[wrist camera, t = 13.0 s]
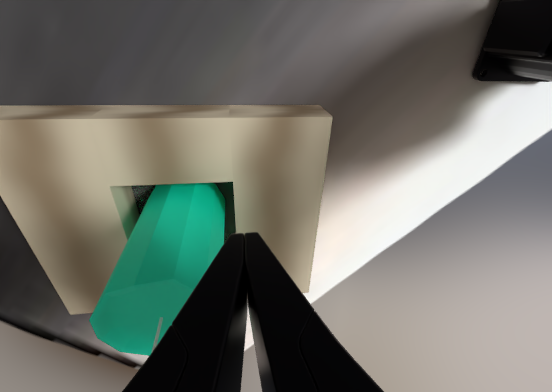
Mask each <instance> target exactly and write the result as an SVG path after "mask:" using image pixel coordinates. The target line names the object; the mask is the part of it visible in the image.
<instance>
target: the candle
mask: <svg viewBox="0 0 552 392" xmlns="http://www.w3.org/2000/svg"><path fill="white" fill-rule="evenodd" d="M224 227H225V198H224V196H223V195H222V193H221V192H220V190H219V189H218V187H217V185H216V184H214V183H187V184H160V185H156V186H155V188H154V190H153V191H152V193H151V195H150V196H149V198H148V200H147V202H146V204H145V206H144V208H143V211H142V213H141V215H140V217H139V219H138V221H137V223H136V225H135V227H134V229H133V231H132V233H131V235H130V237H129V239H128V241H127V243H126V245H125V248H124V250H123V252H122V254H121V256H120V258H119V260H118V262H117V264H116V266H115V268H114V270H113V272H112V274H111V276H110V278H109V280H108V282H107V285H106V287H105V289H104V291H103V293H102V295H101V297H100V299H99V301H98V303H97V305H96V307H95V309H94V311H93V313H92V315H91V317H90V319H89V321H90V323H91V325H92V327H93V329H94V332H95V334H96V336H97V338H98V339H100V340H101V341H103V342H105V343H106V344H108V345H110V346H111V347H113V348H115V349H116V350H118V351H120V352H125V353H133V354H141V355H149V356H150V354H151V353H152V352H153V350H154V349H155V347H156V346H157V344H158V343H159V342H160V340H161V339H162V337H163V336H164V334H165V332H166V331H167V329H168V328H169V326H171V325H172V322H173V321H174V319H175V317H176V316H177V314H178V313H179V311H180V310H181V308H182V307H183V305H184V304H185V302H186V301H187V299H188V298H189V296H190V295H191V293H192V292H193V290H194V289H195V287H196V285H197V284H198V282H199V281H200V279H201V278H202V276H203V275H204V273H205V272H206V270H207V269H208V267H209V266H210V264H211V263H212V261H213V260H214V258H215V257H216V255H217V253H218V252H219V250H220V249H221V247H222V246H223V244H224Z"/></svg>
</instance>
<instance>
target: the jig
mask: <svg viewBox="0 0 552 392" xmlns="http://www.w3.org/2000/svg"><path fill="white" fill-rule="evenodd" d="M332 119H333V117H332V116H331V115H330V114H329V113H328V112H327V111H326V110H325V109H324V108H322V107H321V106H320V105H54V106H0V196H1V198H2V199H3V201H4V203H5V204H6V206H7V208H8V210H9V211H10V213H11V215H12V216H13V218H14V220H15V221H16V223H17V225H18V227H19V228H20V230H21V232H22V233H23V235H24V237H25V238H26V240H27V242H28V243H29V245H30V247H31V249H32V250H33V252H34V254H35V255H36V257H37V259H38V260H39V262H40V264H41V266H42V267H43V269H44V271H45V272H46V274H47V276H48V277H49V279H50V281H51V283H52V284H53V286H54V288H55V289H56V291H57V293H58V294H59V296H60V298H61V300H62V301H63V303H64V305H65V306H66V308H67V310H68V311H69V313H70V315H73V314H83V313H93V311H94V309H95V307H96V305H97V303H98V301H99V299H100V297H101V295H102V293H103V291H104V289H105V287H106V285H107V282H108V280H109V278H110V276H111V274H112V272H113V270H114V268H115V266H116V264H117V262H118V260H119V258H120V256H121V254H122V252H123V250H124V248H125V245H126V243H127V241H128V239H129V237H130V235H131V233H132V231H133V229H134V227H135V225H136V223H137V221H138V219H139V217H140V215H139V211H138V208H137V204H136V201H135V197H134V194H133V190H132V187H131V186H134V185H160V184H187V183H213V182H233V189H234V205H235V222H236V233H243V234H244V235H245V233H247V232H258V233H259V234H260V235H261V237H262V238H263V240H264V241H265V242H266V244H267V245H268V246H269V248H270V249H271V251H272V252H273V253H274V255H275V256H276V258H277V259H278V260H279V262H280V263H281V264H282V266H283V267H284V269H285V270H286V271H287V273H288V274H289V275H290V277H291V278H292V280H293V281H294V282H295V284H296V285H297V286H298V288H299V289H300V291H301V292H302V293H308V292H309V285H310V278H311V271H312V264H313V256H314V249H315V242H316V235H317V227H318V220H319V213H320V206H321V199H322V191H323V184H324V177H325V170H326V163H327V155H328V148H329V141H330V134H331V126H332ZM224 243H225V241H224ZM247 297H248V296H247Z"/></svg>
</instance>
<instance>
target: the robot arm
mask: <svg viewBox="0 0 552 392" xmlns="http://www.w3.org/2000/svg"><path fill="white" fill-rule="evenodd" d="M482 70H483V73H482V74H481V75H480V73H481V71H482ZM472 77H473V79H475V80H479V81H537V82H549V81H552V0H500V1H499V4H498V7H497V9H496V12H495V15H494V17H493V20H492V23H491V25H490V28H489V31H488V33H487V36H486V39H485V41H484V44H483V47H482V49H481V52H480V55H479V57H478V60H477V63H476V65H475V68H474V71H473V74H472ZM247 296H248V297H247ZM247 307H249V315H250V321H251V327H252V333H253V339H254V345H255V350H256V356H257V363H258V368H259V375H260V380H261V387H262V392H384V391H383V390H382V389H381V388H380V387H379V386H378V385H377V384H376V383H375V382H374V380H373V379H372V378H371V377H370V376H369V375H368V374H367V373H366V372H365V371H364V369H363V368H362V367H361V366H360V365H359V364H358V363H357V362H356V361H355V360H354V359H353V357H352V356H351V355H350V354H349V353H348V352H347V350H345V348H344V347H343V346H342V345H341V344H340V343H339V341H338V340H337V339H336V338H335V336H334V335H333V334H332V333H331V331H330V330H329V329H328V327H327V326H326V325H325V323H324V322H323V321H322V320H321V318H320V317H319V315H318V314H317V313H316V312H315V311H314V308H313V307H312V306H311V304H310V303H309V302H308V300H307V299H306V297H305V296H304V295H303V293H302V292H301V291H300V289H299V288H298V286H297V285H296V284H295V282H294V281H293V280H292V278H291V277H290V275H289V274H288V273H287V271H286V270H285V269H284V267H283V266H282V264H281V263H280V262H279V260H278V259H277V258H276V256H275V255H274V253H273V252H272V251H271V249H270V248H269V246H268V245H267V244H266V242H265V241H264V240H263V238H262V237H261V235H260V234H259V233H258V232H247V233H245V235H244V234H243V233H233V234H230V235H229V237H228V238H227V240H226V241H225V243H224V244H223V246H222V247H221V249H220V250H219V252H218V253H217V255H216V257H215V258H214V260H213V261H212V263H211V264H210V266H209V267H208V269H207V270H206V272H205V273H204V275H203V276H202V278H201V279H200V281H199V282H198V284H197V285H196V287H195V289H194V290H193V292H192V293H191V295H190V296H189V298H188V299H187V301H186V302H185V304H184V305H183V307H182V308H181V310H180V311H179V313H178V314H177V316H176V317H175V319H174V321H173V322H172V325H171V326H169V328H168V329H167V331H166V332H165V334H164V336H163V337H162V339H161V340H160V342H159V343H158V344H157V346H156V347H155V349H154V350H153V352H152V353H151V354H150V356H149V357H148V359H147V360H146V362H145V363H144V364H143V366H142V367H141V368H140V369H139V371H138V372H137V373H136V375H135V376H134V377H133V379H132V380H131V381H130V382H129V384H128V385H127V386H126V388H125V389H124V390H123V391H122V392H240V390H241V378H242V367H243V356H244V344H245V333H246V321H247Z"/></svg>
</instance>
